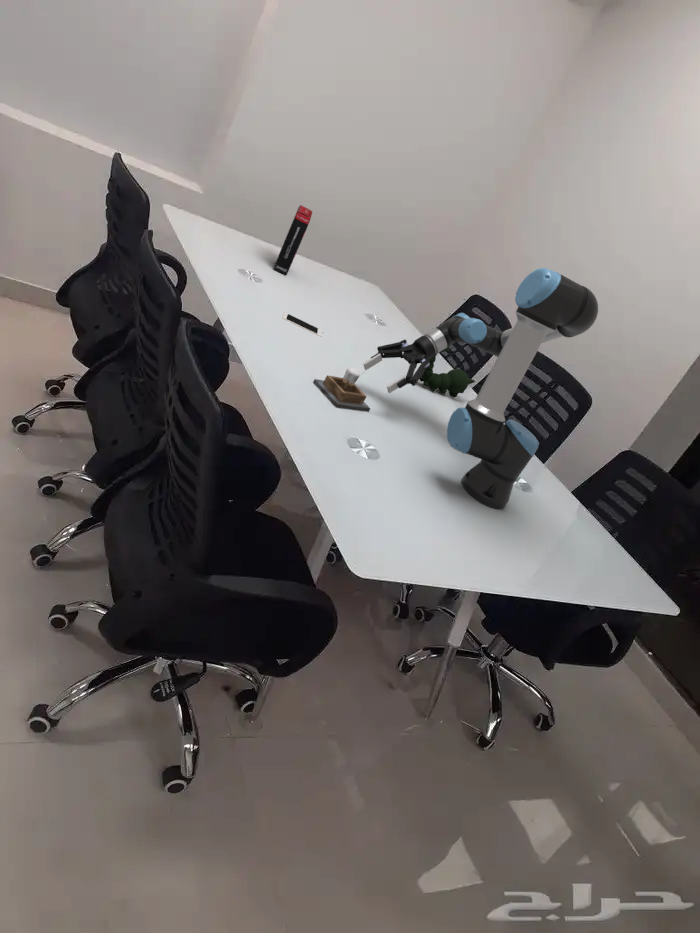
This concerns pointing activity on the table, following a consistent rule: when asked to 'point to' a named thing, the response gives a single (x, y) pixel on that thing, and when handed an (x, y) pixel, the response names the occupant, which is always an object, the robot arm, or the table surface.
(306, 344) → the table surface
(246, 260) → the table surface
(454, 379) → the toy figurine
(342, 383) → the milkshake
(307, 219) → the graphics card box
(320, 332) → the cell phone
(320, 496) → the table surface
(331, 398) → the socket board
